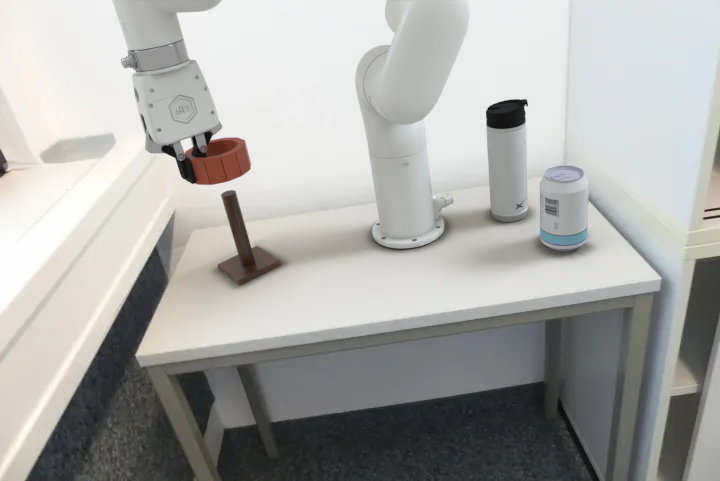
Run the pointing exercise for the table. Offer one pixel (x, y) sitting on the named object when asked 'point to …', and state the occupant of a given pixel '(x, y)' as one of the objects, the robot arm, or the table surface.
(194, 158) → the hoop
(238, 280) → the stand
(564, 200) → the beverage can
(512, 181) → the travel mug
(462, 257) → the table surface
